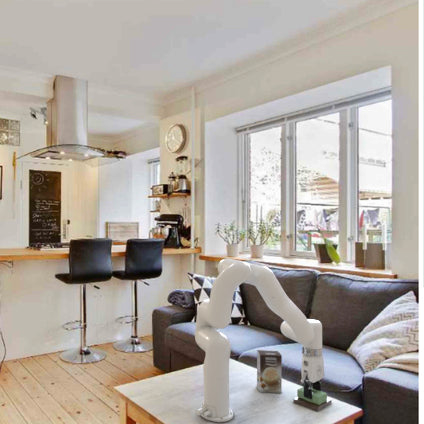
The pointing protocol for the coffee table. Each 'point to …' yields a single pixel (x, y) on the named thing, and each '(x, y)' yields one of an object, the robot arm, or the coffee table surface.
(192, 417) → the coffee table surface
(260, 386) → the coffee box
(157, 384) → the coffee table surface
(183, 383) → the coffee table surface
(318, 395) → the green block with hole
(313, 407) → the wooden peg base
